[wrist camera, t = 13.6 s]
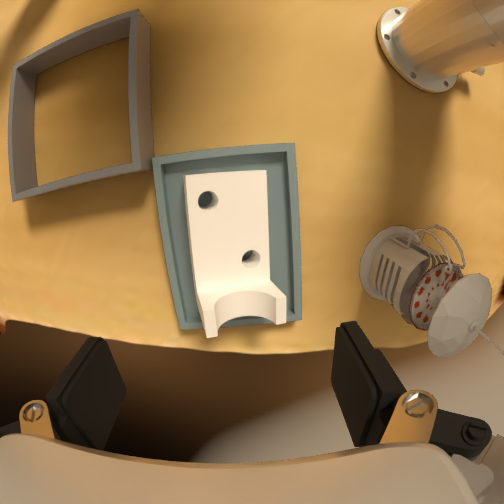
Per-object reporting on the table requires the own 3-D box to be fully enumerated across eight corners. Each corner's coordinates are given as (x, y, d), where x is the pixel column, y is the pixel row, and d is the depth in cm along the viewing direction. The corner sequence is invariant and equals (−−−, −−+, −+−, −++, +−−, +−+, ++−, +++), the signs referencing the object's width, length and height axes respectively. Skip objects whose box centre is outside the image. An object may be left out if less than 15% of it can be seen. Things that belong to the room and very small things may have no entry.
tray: (290, 144, 27) (294, 142, 25) (298, 310, 32) (301, 319, 30) (158, 158, 27) (151, 157, 25) (183, 319, 32) (180, 329, 30)
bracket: (259, 290, 31) (286, 322, 24) (196, 300, 30) (206, 338, 23) (254, 170, 28) (284, 170, 21) (183, 175, 26) (189, 175, 19)
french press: (361, 310, 33) (472, 471, 9) (352, 219, 30) (545, 346, 6) (424, 288, 33) (550, 403, 9) (422, 203, 29) (602, 276, 5)
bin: (150, 26, 22) (138, 8, 18) (155, 169, 27) (141, 169, 23) (33, 71, 22) (13, 65, 17) (34, 196, 27) (12, 201, 23)
